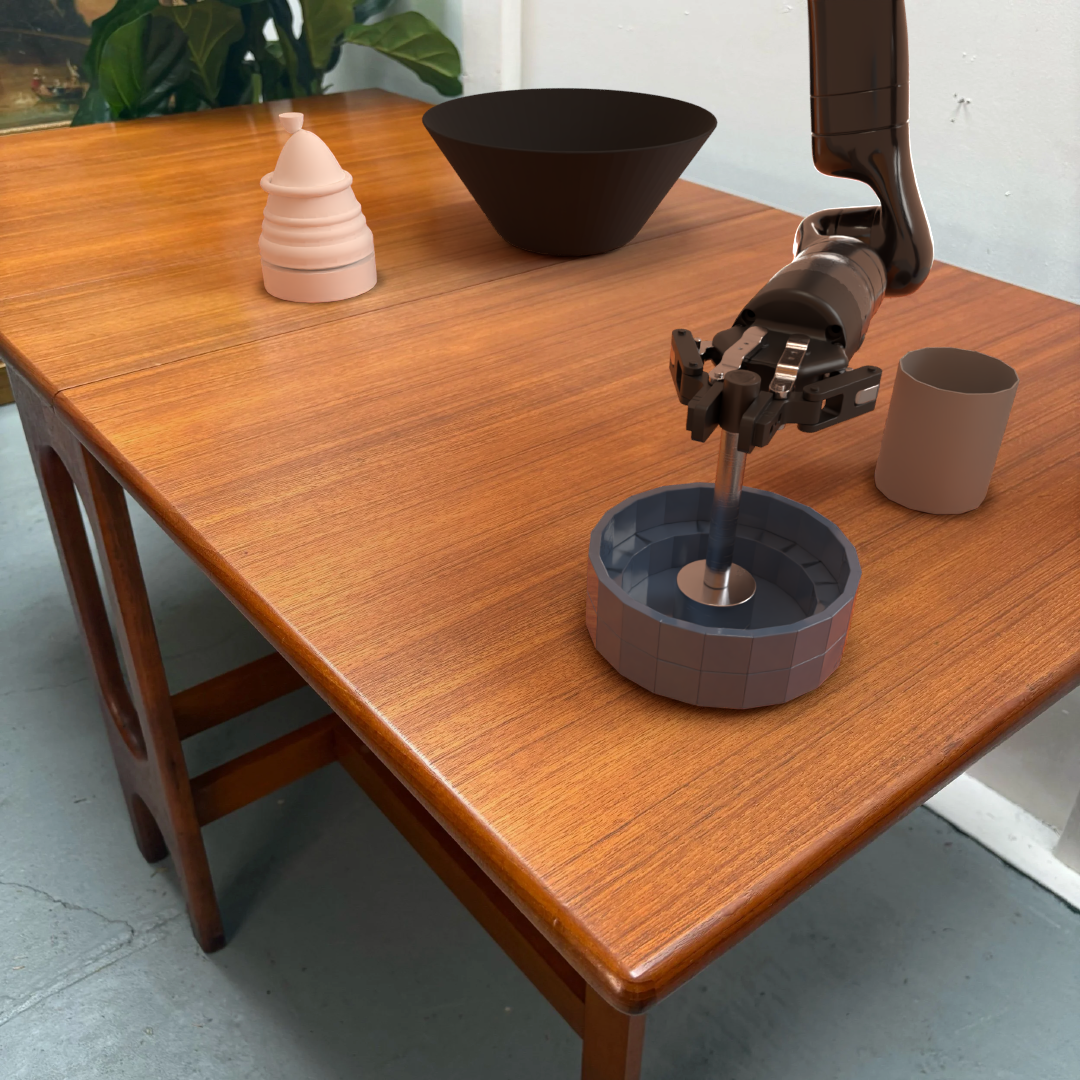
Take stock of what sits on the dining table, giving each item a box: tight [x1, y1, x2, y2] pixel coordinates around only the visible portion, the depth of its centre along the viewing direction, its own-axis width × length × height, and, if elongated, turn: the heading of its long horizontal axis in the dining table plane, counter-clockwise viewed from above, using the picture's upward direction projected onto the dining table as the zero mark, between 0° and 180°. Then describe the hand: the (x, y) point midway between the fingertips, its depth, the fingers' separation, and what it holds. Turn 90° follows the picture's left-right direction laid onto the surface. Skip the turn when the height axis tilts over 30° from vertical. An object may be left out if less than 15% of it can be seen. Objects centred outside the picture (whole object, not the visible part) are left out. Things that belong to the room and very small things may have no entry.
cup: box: [873, 346, 1021, 515], centre depth 78 cm, size 8×8×10 cm
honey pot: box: [257, 111, 378, 304], centre depth 113 cm, size 13×13×18 cm
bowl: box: [421, 87, 718, 257], centre depth 127 cm, size 36×36×15 cm
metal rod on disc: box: [673, 370, 761, 630], centre depth 61 cm, size 5×5×17 cm
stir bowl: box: [585, 481, 863, 710], centre depth 64 cm, size 16×16×6 cm
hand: (722, 431), depth 55 cm, fingers closed on metal rod on disc, 2 cm apart
